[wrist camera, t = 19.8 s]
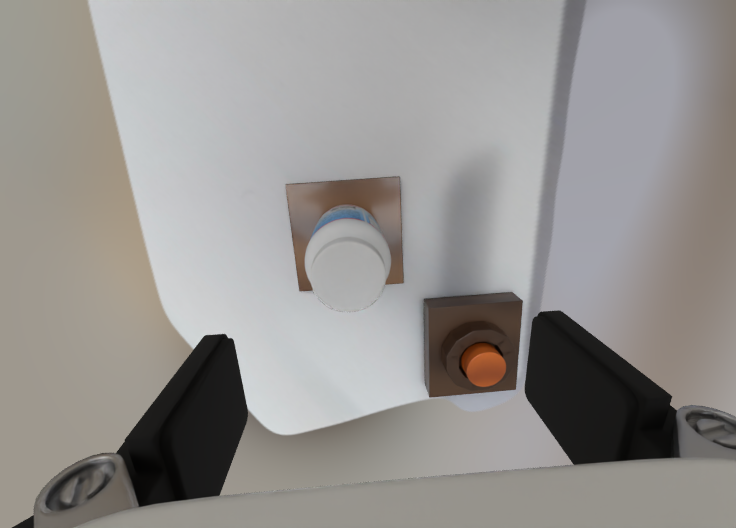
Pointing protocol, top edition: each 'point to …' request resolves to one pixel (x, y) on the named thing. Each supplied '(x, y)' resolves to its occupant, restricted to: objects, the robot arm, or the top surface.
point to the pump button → (483, 364)
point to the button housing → (469, 339)
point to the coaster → (366, 193)
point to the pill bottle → (347, 259)
